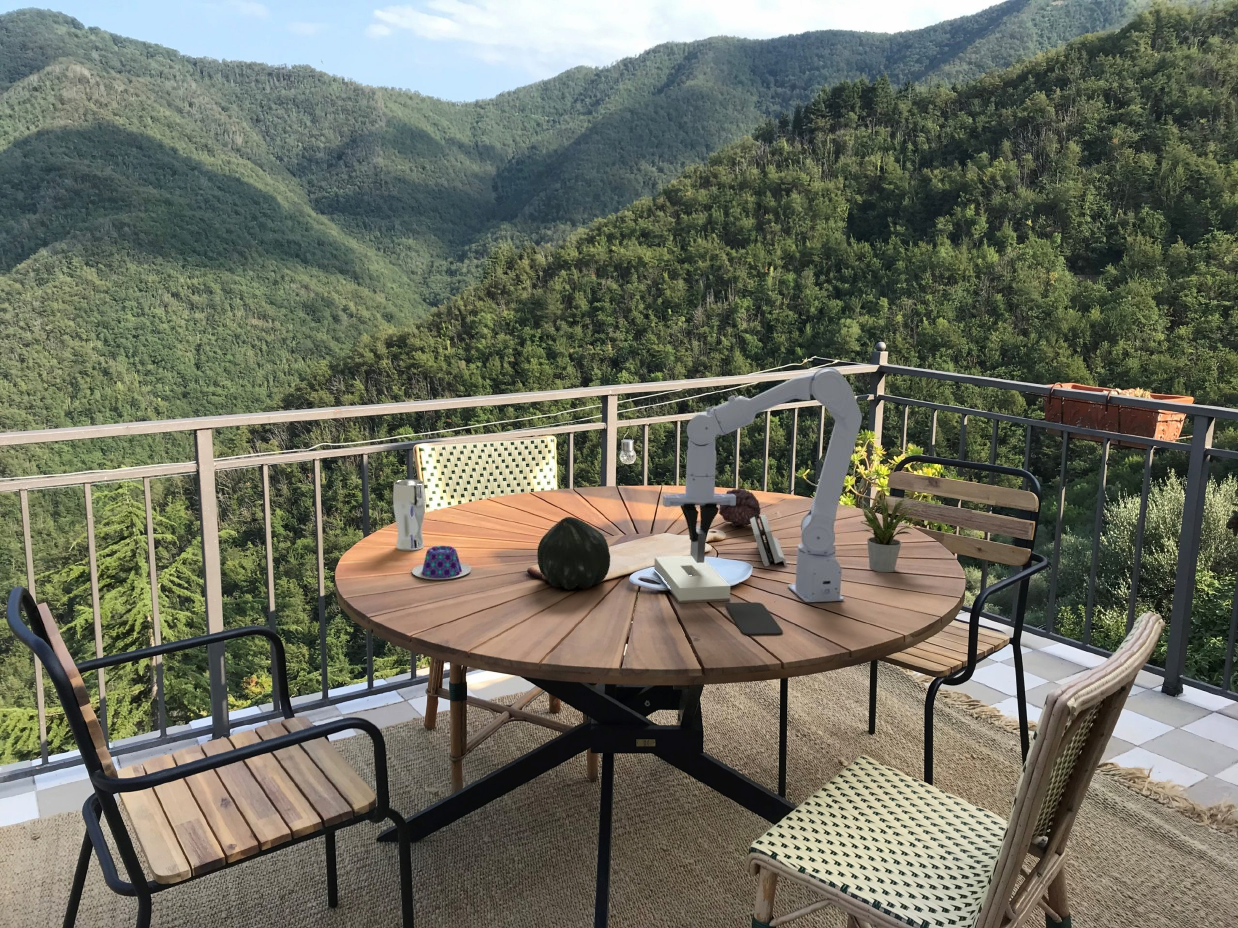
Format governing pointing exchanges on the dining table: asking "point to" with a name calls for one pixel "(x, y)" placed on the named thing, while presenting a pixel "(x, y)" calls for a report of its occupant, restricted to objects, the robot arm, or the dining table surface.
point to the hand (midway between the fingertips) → (697, 540)
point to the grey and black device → (767, 542)
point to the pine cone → (741, 508)
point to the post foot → (692, 579)
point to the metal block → (698, 546)
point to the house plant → (884, 536)
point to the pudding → (441, 564)
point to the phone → (753, 619)
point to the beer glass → (409, 513)
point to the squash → (573, 555)
